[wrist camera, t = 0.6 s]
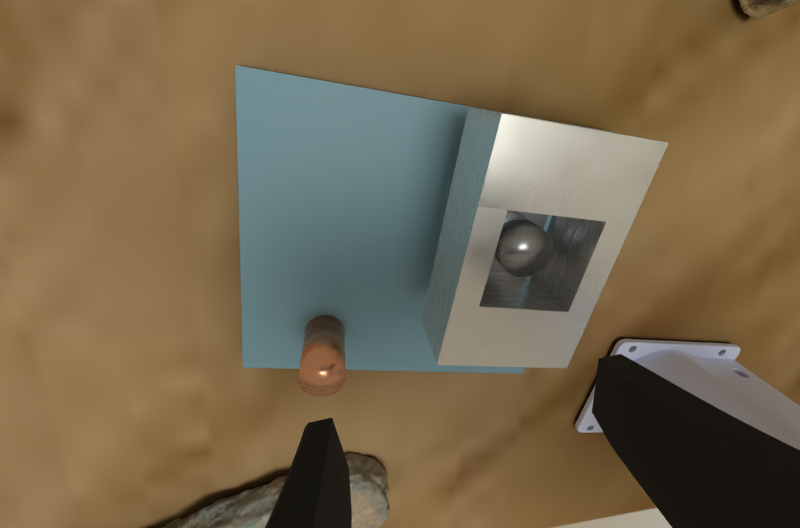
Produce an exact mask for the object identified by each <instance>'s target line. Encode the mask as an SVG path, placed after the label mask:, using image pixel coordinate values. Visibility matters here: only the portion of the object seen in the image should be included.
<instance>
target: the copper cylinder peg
mask: <svg viewBox="0 0 800 528" xmlns="http://www.w3.org/2000/svg"><path fill="white" fill-rule="evenodd" d="M345 379H346V374H345V330H344V326H343V324H342V322H341V321H340V320H339V319H337V318H335V317H333V316H329V315H321V316H317V317H315V318H313V319H311V320H310V321H309V322H308V323H307V325H306V327H305V333H304V340H303V347H302V354H301V362H300V369H299V376H298V383H299V385H300V387H301V388H302V390H303V391H305V392H306V393H308V394H310V395H313V396H328V395H331V394H334V393H336V392H337V391H339V390H340V389H341V388H342V387H343V385H344V383H345Z"/></svg>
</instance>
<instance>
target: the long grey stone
mask: <svg viewBox="0 0 800 528" xmlns="http://www.w3.org/2000/svg"><path fill="white" fill-rule="evenodd" d="M344 455H345V458H346V461H347V464H348V467H349V477H350V490H351V506H352V528H379V527H380V526H381V525H382V524H383V522H384V521H385V520H386V519H388V515H389V511H390V508H389V503H388V499H387V497H386V494H387V493H388V492H389V487H388V484H387V476H386V472H385V469H384V468H383V467H382V466H381V465H380V464H379V463H378V461H377V460H375V459H373V458H371V457H367V456H363V455H361V454H355V453H347V454H344ZM286 478H287V475H285V476H280V477H278V478H276V479H275V480H273V481H272V482H271V483H269V484H266V485H263V486H259V487H256V488H254V489H249V490H246V491H244V492H241V493H240V494H238V495H234V496H231V497H225V498H222V499H218V500H217V501H215V502H214V503H213V504H211V505H210V506H206V507H204V508H202V509H201V510H199V511H198V512H194V513H193V514H191V515H188V516H187V517H186V518H177V519H175V520H174V521H171V522H169V523H168V524H167V525H165V526H164V527H159V528H265V526H266V524H267V522H268V520H269V517H270V515H271V513H272V511H273V508H274V506H275V504H276V501H277V499H278V497H279V494H280V492H281V490H282V487H283V485H284V483H285V480H286Z"/></svg>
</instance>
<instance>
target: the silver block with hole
mask: <svg viewBox="0 0 800 528" xmlns="http://www.w3.org/2000/svg"><path fill="white" fill-rule="evenodd" d="M667 145H668V143H666V142H661V141H656V140H650V139H645V138H640V137H634V136H629V135H624V134H618V133H613V132H608V131H602V130H597V129H591V128H585V127H580V126H574V125H568V124H563V123H557V122H551V121H546V120H540V119H534V118H529V117H523V116H517V115H512V114H506V113H500V112H495V111H489V110H484V109H478V108H472V107H468V112H467V116H466V121H465V125H464V130H463V134H462V139H461V143H460V148H459V152H458V157H457V161H456V166H455V170H454V175H453V179H452V184H451V188H450V193H449V197H448V202H447V206H446V211H445V215H444V220H443V224H442V229H441V233H440V238H439V242H438V247H437V252H436V256H435V261H434V265H433V270H432V274H431V279H430V283H429V288H428V292H427V297H426V301H425V306H424V310H423V315H422V319H421V320H422V323H423V326H424V329H425V332H426V335H427V337H428V340H429V343H430V346H431V349H432V352H433V355H434V358H435V361H436V364H437V365H459V366H497V367H536V368H567V367H568V365H569V363H570V360H571V358H572V356H573V354H574V351H575V349H576V347H577V345H578V343H579V340H580V338H581V336H582V334H583V331H584V329H585V327H586V325H587V323H588V320H589V318H590V316H591V314H592V312H593V309H594V307H595V305H596V303H597V300H598V298H599V296H600V294H601V292H602V289H603V287H604V285H605V283H606V281H607V278H608V276H609V274H610V272H611V269H612V267H613V265H614V263H615V261H616V258H617V256H618V254H619V252H620V250H621V247H622V245H623V243H624V241H625V238H626V236H627V234H628V232H629V230H630V227H631V225H632V223H633V221H634V218H635V216H636V214H637V212H638V210H639V207H640V205H641V203H642V201H643V199H644V196H645V194H646V192H647V190H648V187H649V185H650V183H651V181H652V179H653V176H654V174H655V172H656V170H657V168H658V165H659V163H660V161H661V159H662V156H663V154H664V152H665V150H666V148H667ZM507 210H512V211H520V212H529V213H537V214H545V215H552V218H551V221H550V223H549V226H548V229H547V233H548V234H549V235H550V237H551V239H552V241H553V253H552V256H551V259H550V260H549V262H548V263H547V265H546V266H545V267H544V268H543V269H542V270H541V271H539V272H538V273H536V274H534V275H531V276H528V277H515V276H513V275H511V274H509V273H504V272H492V271H490V268H491V265H492V261H493V258H494V254H495V251H496V248H497V244H498V241H499V237H500V234H501V231H502V227H503V224H504V221H505V217H506V214H507Z"/></svg>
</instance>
